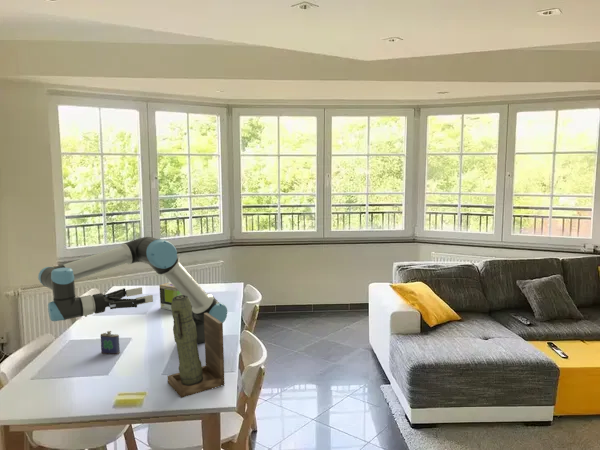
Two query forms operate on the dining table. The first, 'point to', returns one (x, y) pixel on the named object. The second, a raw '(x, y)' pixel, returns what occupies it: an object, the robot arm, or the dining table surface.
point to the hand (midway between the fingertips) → (147, 294)
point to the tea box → (167, 295)
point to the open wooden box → (214, 361)
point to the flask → (110, 343)
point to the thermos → (186, 341)
